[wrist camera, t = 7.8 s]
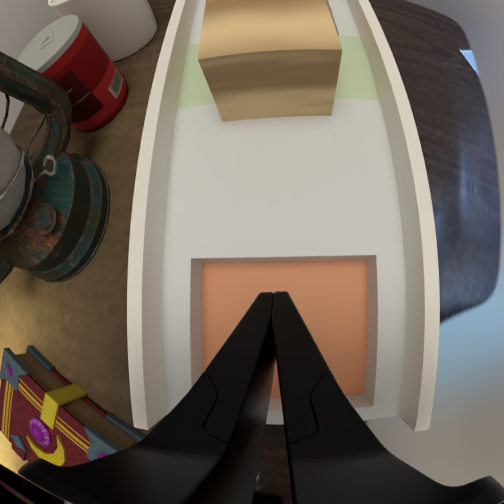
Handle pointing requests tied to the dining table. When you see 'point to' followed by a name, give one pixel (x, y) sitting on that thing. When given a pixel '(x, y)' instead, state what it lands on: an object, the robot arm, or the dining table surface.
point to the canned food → (78, 71)
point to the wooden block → (270, 58)
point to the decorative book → (54, 415)
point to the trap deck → (284, 229)
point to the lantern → (47, 187)
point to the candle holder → (113, 23)
